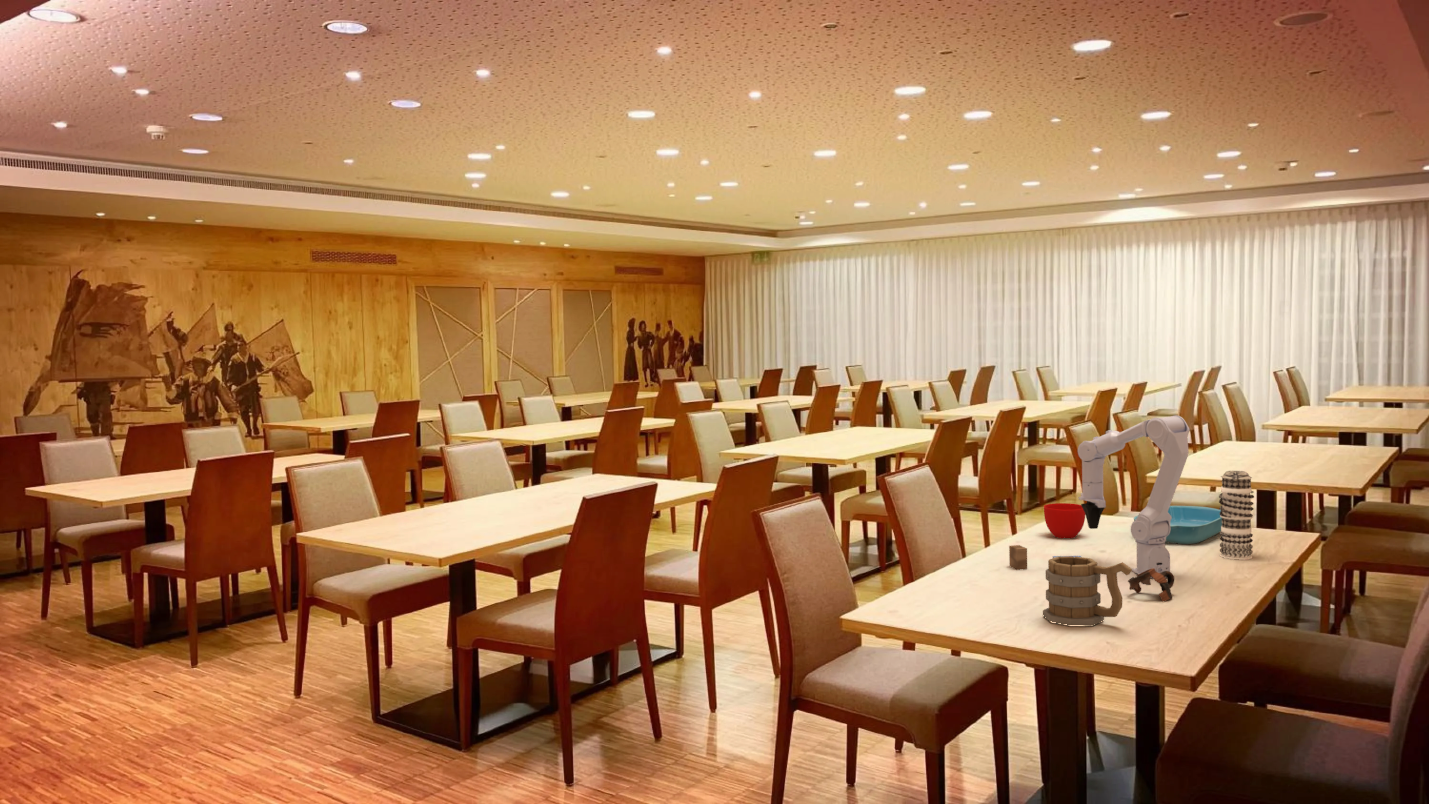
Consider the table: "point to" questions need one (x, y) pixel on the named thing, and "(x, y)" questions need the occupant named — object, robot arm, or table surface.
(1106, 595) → the table surface
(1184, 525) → the casserole dish
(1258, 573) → the table surface
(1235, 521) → the decorative candle
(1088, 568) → the tankard
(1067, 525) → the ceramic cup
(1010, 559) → the walnut block
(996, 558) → the table surface
